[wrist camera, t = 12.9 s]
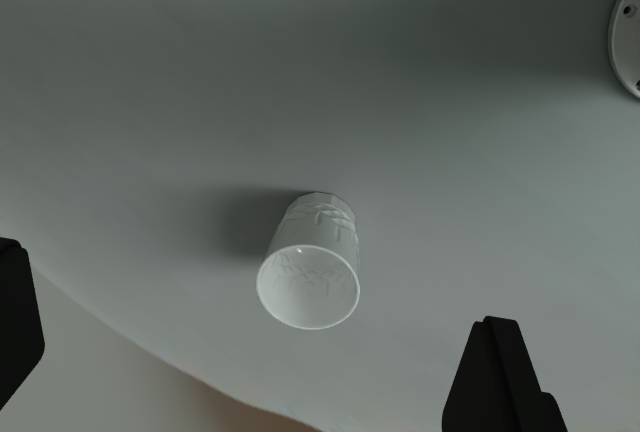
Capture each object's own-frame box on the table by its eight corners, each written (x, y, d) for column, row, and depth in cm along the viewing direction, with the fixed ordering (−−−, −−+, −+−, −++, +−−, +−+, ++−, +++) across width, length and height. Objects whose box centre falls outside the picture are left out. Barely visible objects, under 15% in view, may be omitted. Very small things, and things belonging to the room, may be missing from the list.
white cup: (319, 274, 50) (307, 345, 42) (260, 221, 48) (234, 285, 39) (380, 227, 47) (381, 294, 39) (320, 168, 45) (306, 225, 36)
